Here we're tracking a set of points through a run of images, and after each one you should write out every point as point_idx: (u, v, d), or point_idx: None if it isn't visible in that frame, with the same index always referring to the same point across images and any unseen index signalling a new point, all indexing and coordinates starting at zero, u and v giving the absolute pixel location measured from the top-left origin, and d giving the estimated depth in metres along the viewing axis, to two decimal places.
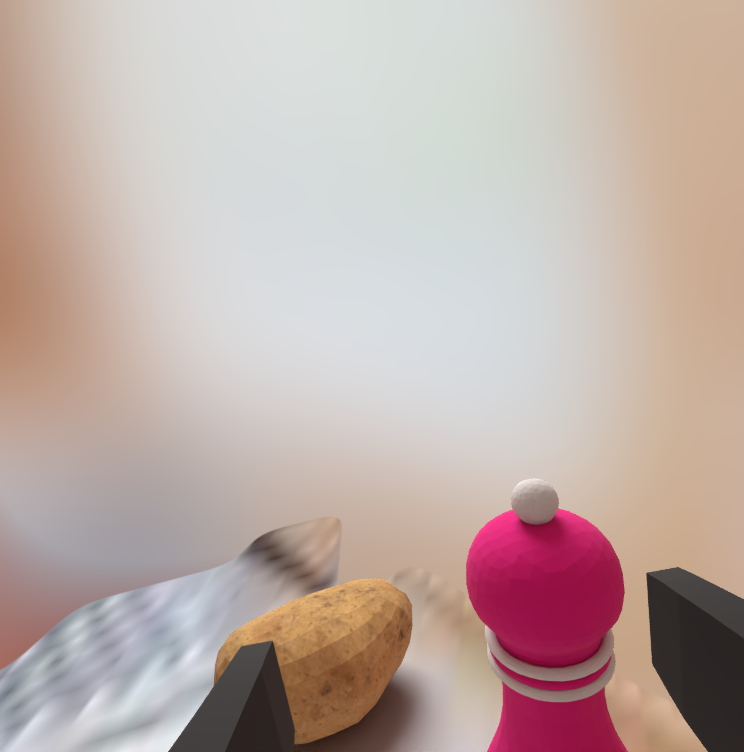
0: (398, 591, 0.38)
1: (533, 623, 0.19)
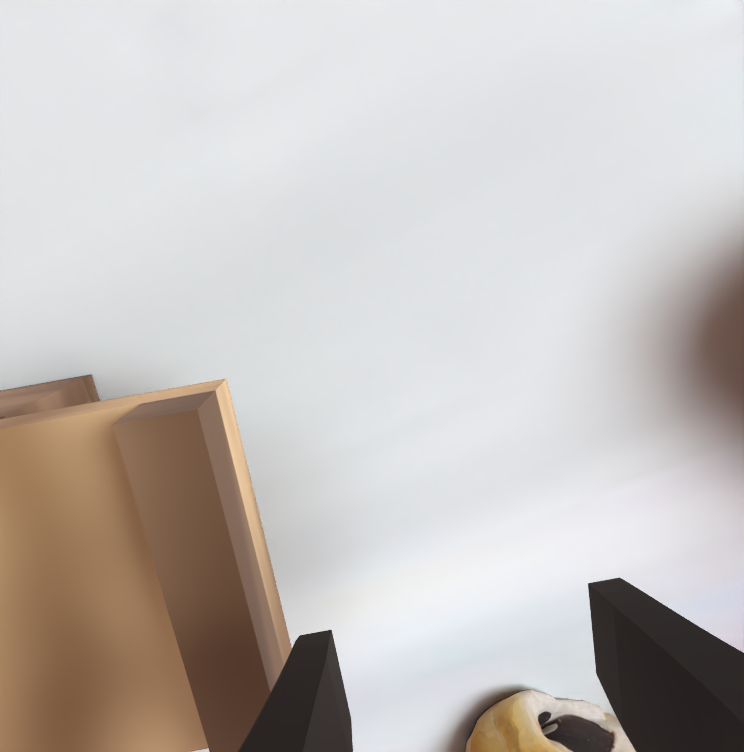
0: None
1: None
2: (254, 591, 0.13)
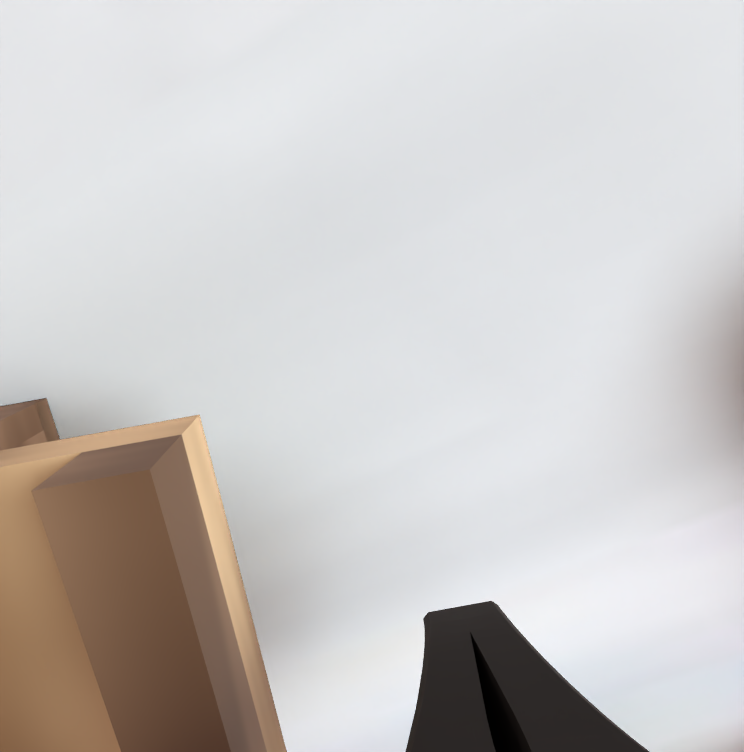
0: None
1: None
2: (234, 699, 0.10)
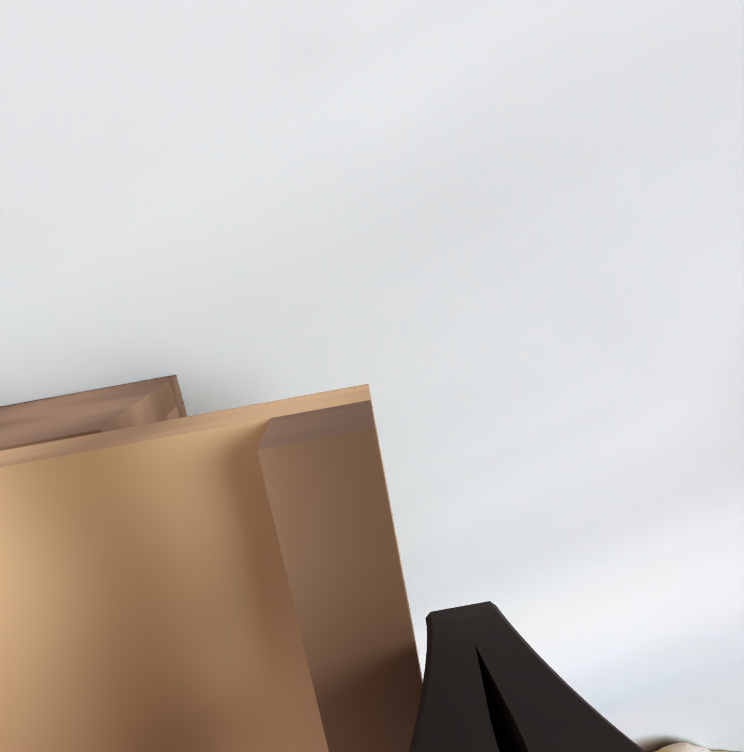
0: None
1: None
2: (418, 665, 0.10)
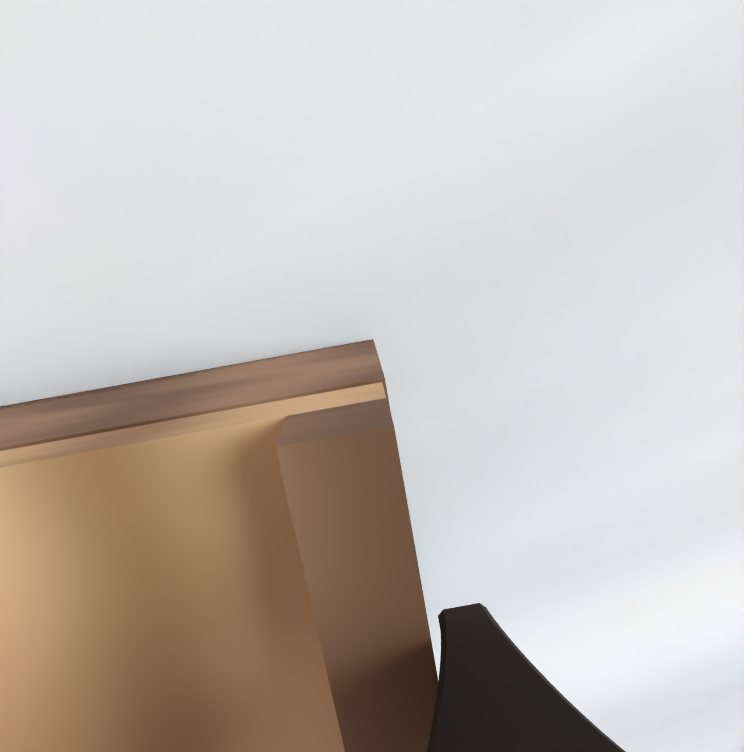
0: None
1: None
2: None
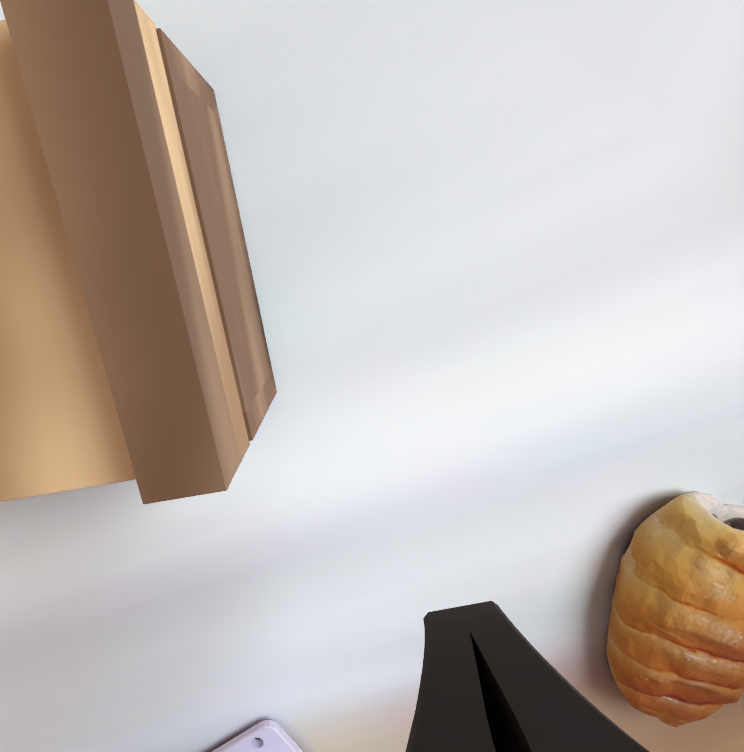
0: None
1: None
2: (178, 248, 0.11)
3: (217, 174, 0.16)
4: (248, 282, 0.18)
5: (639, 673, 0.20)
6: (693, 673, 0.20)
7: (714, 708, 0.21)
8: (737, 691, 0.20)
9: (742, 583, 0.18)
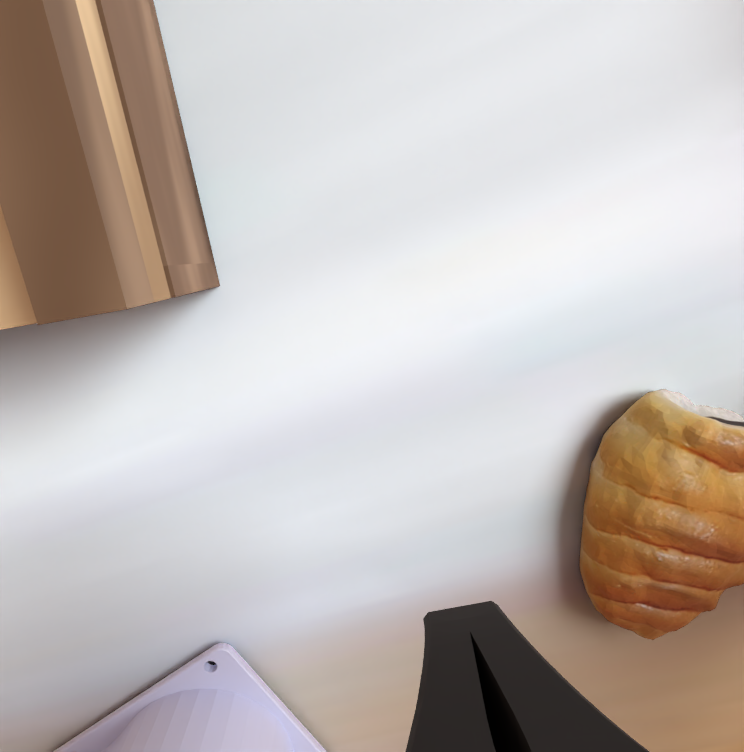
0: None
1: None
2: (69, 42, 0.10)
3: (141, 30, 0.15)
4: (183, 160, 0.17)
5: (611, 579, 0.20)
6: (665, 573, 0.19)
7: (691, 615, 0.20)
8: (713, 594, 0.19)
9: (711, 472, 0.18)
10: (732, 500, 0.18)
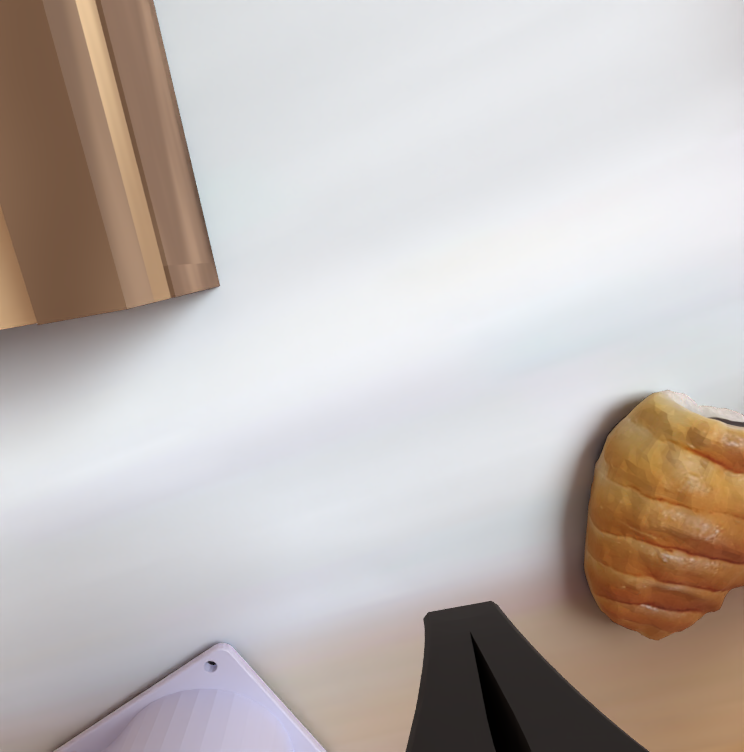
0: None
1: None
2: (69, 42, 0.10)
3: (141, 30, 0.15)
4: (183, 160, 0.17)
5: (616, 580, 0.20)
6: (670, 575, 0.19)
7: (695, 616, 0.20)
8: (718, 595, 0.19)
9: (716, 473, 0.18)
10: (737, 501, 0.18)
